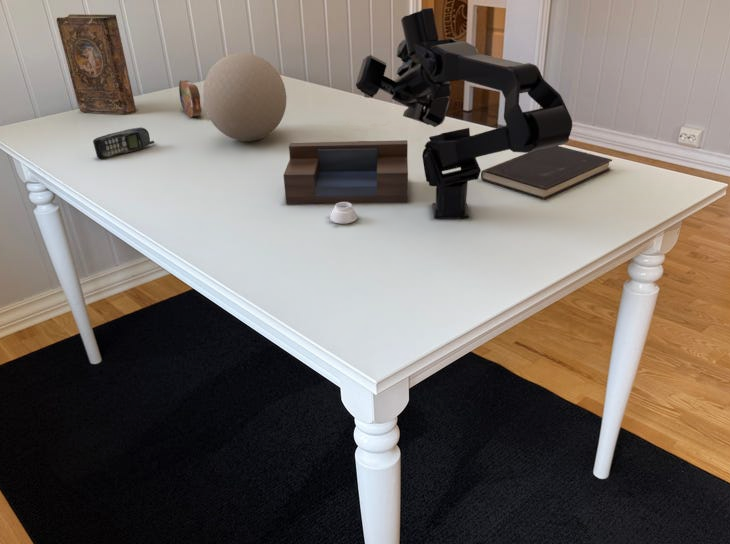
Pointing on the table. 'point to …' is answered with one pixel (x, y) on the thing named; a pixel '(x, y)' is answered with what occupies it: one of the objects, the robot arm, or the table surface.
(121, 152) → the mobile phone
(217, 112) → the decorative sphere
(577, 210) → the table surface
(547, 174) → the hardcover book
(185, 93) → the tin
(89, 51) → the book
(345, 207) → the lidless jar
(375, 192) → the toy sofa
